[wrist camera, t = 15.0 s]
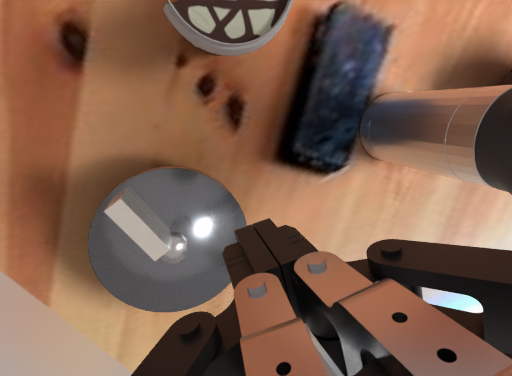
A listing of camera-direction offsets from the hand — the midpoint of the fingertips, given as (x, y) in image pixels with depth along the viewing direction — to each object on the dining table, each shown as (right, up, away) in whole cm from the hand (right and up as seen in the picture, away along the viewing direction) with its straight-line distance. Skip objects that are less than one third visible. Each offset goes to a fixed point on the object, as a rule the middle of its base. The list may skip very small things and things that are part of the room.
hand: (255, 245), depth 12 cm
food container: (-3, +20, +23) cm, 31 cm away
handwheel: (-10, -4, +23) cm, 26 cm away
